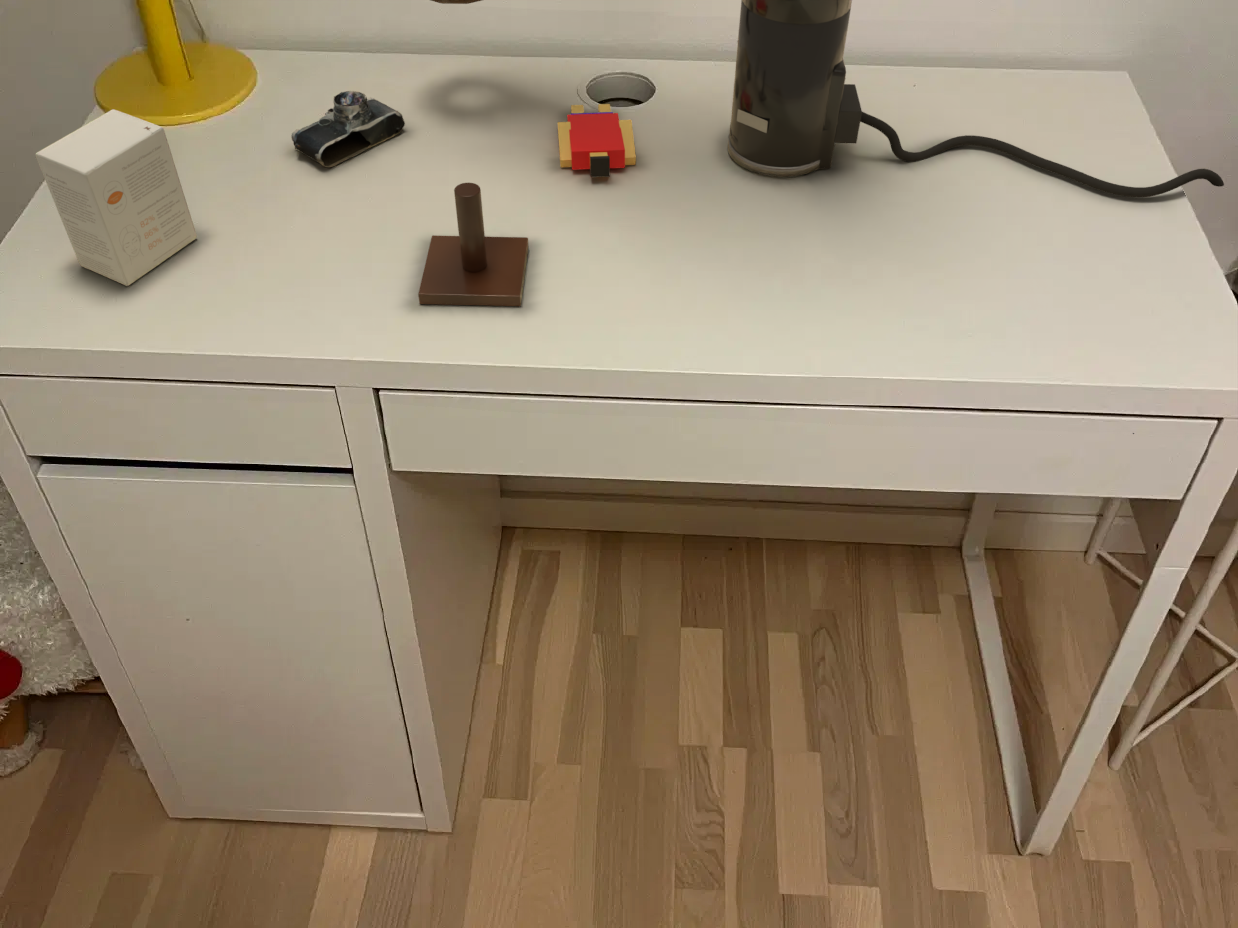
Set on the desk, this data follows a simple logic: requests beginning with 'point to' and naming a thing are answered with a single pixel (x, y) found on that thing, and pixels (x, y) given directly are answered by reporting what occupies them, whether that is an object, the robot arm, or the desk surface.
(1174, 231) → the desk surface
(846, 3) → the robot arm
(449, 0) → the ring
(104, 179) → the small box
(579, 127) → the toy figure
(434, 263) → the post
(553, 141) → the desk surface
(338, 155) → the camera
